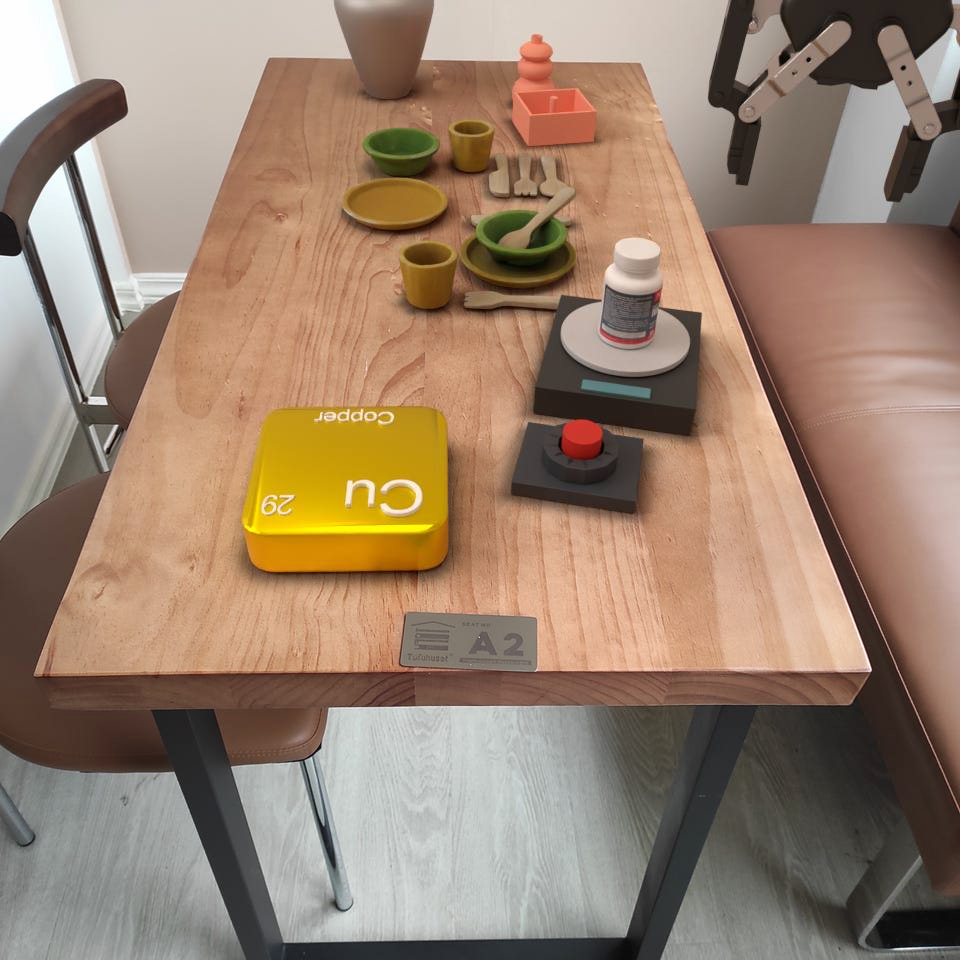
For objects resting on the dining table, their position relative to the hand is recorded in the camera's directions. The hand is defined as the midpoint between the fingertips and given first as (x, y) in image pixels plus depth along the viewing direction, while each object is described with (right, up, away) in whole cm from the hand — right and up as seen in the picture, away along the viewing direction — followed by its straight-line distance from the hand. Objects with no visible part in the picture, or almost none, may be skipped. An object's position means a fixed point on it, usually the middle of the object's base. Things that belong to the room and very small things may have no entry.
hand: (815, 188), depth 54 cm
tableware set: (-23, +13, +56) cm, 62 cm away
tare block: (-11, -16, +23) cm, 31 cm away
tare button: (-11, -14, +22) cm, 28 cm away
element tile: (-30, -19, +20) cm, 41 cm away
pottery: (-10, +35, +81) cm, 89 cm away
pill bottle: (-6, -4, +32) cm, 33 cm away
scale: (-6, -7, +34) cm, 35 cm away
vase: (-34, +42, +88) cm, 104 cm away
